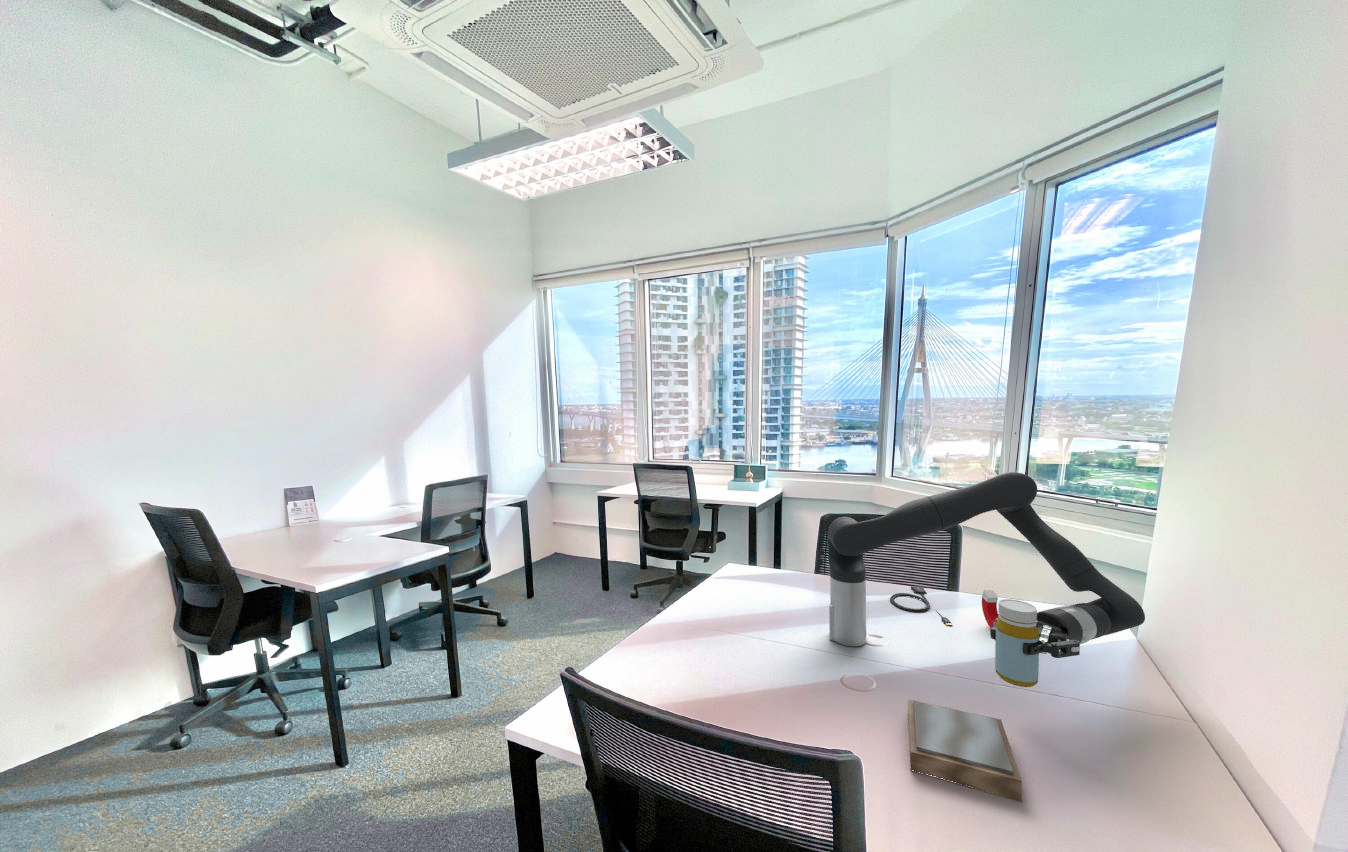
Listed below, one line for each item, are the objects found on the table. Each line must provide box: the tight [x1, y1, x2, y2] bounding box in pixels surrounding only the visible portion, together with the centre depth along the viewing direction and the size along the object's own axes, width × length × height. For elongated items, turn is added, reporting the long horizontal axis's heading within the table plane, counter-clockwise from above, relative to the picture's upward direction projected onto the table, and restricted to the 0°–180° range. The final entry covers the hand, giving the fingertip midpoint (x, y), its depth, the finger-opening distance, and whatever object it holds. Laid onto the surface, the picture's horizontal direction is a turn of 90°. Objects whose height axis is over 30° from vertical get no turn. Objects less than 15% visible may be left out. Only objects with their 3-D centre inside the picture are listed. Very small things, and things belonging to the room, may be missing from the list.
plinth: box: [907, 699, 1023, 803], centre depth 86 cm, size 16×16×4 cm
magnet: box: [981, 589, 999, 629], centre depth 130 cm, size 12×3×10 cm, turn 176°
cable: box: [889, 585, 953, 627], centre depth 149 cm, size 14×28×2 cm, turn 168°
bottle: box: [994, 598, 1040, 688], centre depth 94 cm, size 7×7×15 cm
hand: (1008, 641), depth 93 cm, fingers closed on bottle, 5 cm apart
